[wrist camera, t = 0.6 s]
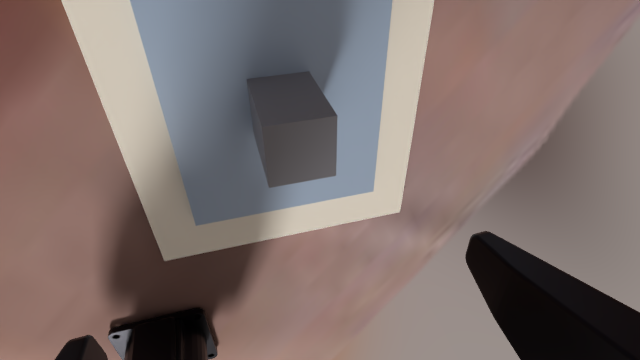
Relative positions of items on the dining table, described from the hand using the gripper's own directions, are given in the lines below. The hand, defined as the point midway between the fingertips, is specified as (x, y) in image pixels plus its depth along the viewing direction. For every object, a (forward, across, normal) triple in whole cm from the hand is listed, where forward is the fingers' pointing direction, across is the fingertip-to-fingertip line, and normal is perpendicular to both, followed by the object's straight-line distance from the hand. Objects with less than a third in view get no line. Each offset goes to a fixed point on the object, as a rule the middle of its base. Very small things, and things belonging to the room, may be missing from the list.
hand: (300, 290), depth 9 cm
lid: (+12, -2, +1) cm, 13 cm away
